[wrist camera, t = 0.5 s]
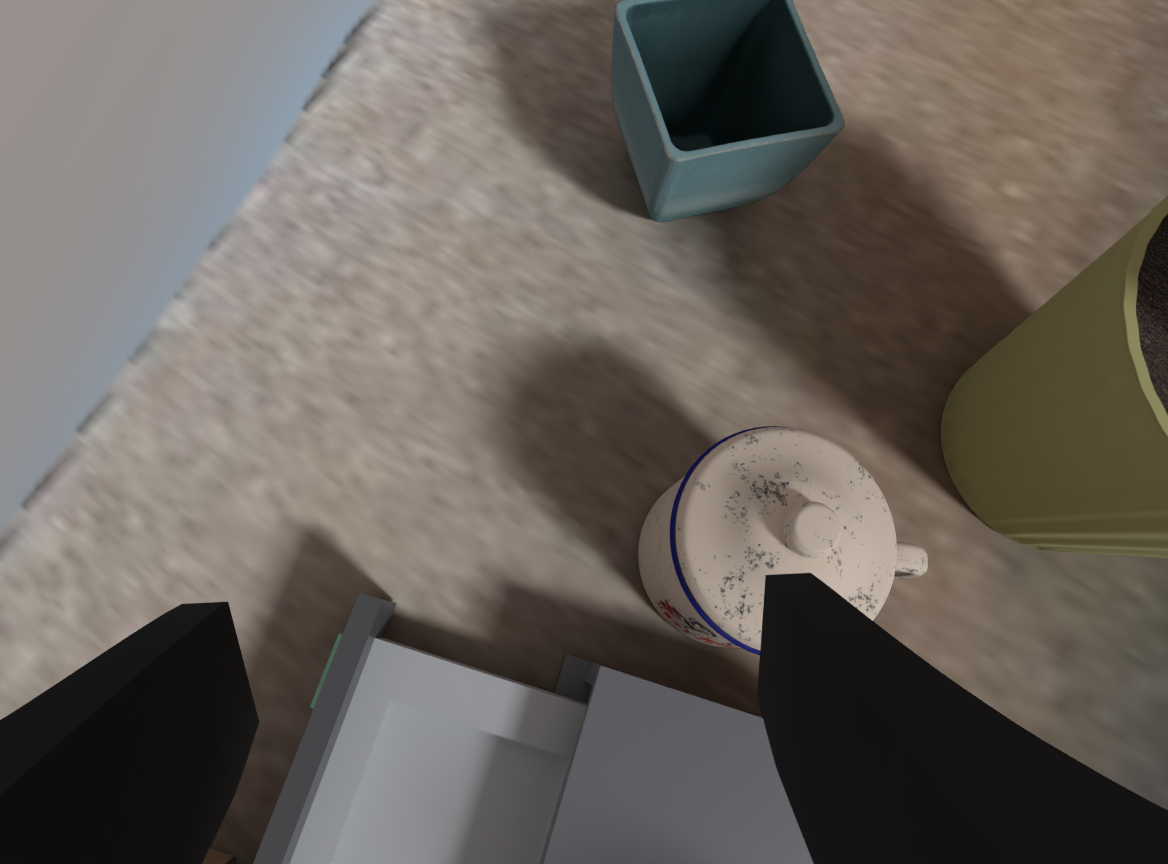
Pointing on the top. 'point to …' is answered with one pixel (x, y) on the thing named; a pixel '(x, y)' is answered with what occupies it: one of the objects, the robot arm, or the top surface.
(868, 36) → the top surface
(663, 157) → the flower pot
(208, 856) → the walnut block
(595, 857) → the grey drawer box
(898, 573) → the cream lidded canister
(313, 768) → the tray
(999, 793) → the robot arm
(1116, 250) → the potted cactus
